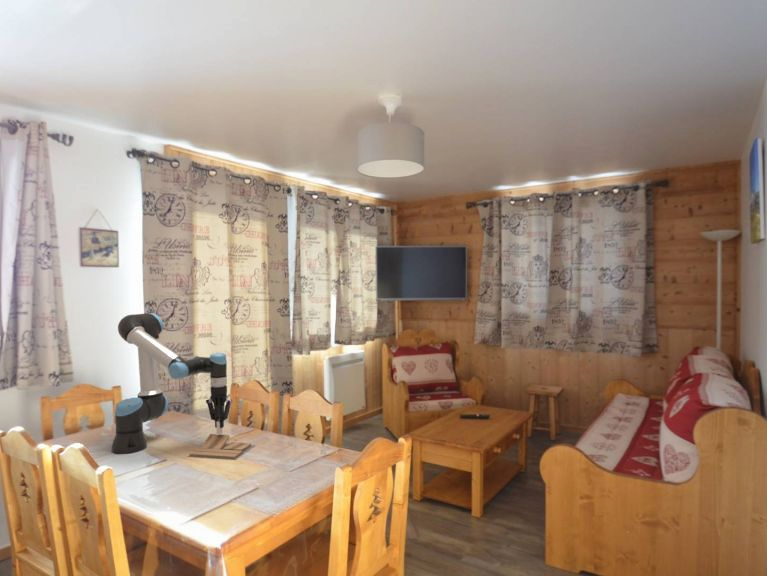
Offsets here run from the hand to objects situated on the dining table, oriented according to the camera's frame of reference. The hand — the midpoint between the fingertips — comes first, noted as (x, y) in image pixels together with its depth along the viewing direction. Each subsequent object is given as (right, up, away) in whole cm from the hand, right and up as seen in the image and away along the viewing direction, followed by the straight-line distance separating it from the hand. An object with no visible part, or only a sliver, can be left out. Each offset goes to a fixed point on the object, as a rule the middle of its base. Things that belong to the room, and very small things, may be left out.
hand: (219, 434), depth 234 cm
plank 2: (+10, -5, -5) cm, 12 cm away
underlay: (+4, -7, -7) cm, 11 cm away
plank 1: (-1, -3, -3) cm, 5 cm away
